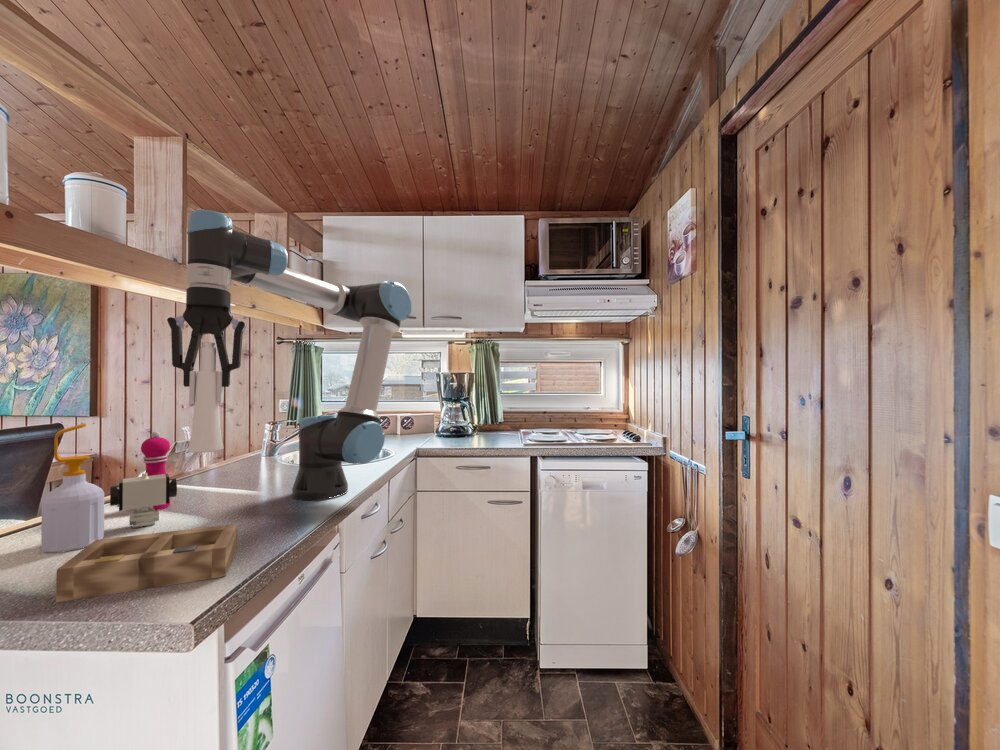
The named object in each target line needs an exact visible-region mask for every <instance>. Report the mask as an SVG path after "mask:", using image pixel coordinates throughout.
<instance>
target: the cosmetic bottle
mask: <svg viewBox="0 0 1000 750" xmlns="http://www.w3.org/2000/svg"><path fill="white" fill-rule="evenodd" d="M215 345H216V342H210V341H209V342H208V341H207V342H206V341H203V342H201V347H200V346H199V370H196V371H197V377H196V388H195V403H194V404H193V415H192V416H193V417H192V425H191V433H190V438H189V445H188V448H187V452H189V453H196V454H197V453H213V452H219V451H223V450H224V449H225V448H224V443H223V436H222V428H221V415H220V414H221V411H220V409H221V408H220V403H217V370H216V369H217V347H215Z"/></svg>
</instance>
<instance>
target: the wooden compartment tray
mask: <svg viewBox="0 0 1000 750" xmlns="http://www.w3.org/2000/svg"><path fill="white" fill-rule="evenodd" d="M238 536H239V534H238V523H233V524H232V523H231V524H222V525H215V526H205V527H197V528H188V529H180V530H171V531H163V532H153V533H152V532H151V533H147V534H146V533H145V534H136V535H135V534H134V535H128V536H119V537H109V538H103V539H99V540H95V541H94V542H92V543H91V544H90V545H88V546H87V547H85V548H82V549H81V550H80V551H79V552H78V553H76V554H75V555H74V556H72V557H71V558H70V559H69V560H67V561H66V562H65V563H63V564H62V565H61V566H59V567H58V568H56V572H55V573H56V574H55V575H56V587H55V590H56V593H55V594H56V595H55V598H56V599H55V601H56V603H61V602H68V601H74V600H82V599H87V598H95V597H100V596H106V595H114V594H120V593H127V592H134V591H140V590H146V589H153V588H159V587H164V586H166V587H167V586H172V585H177V584H184V583H185V584H186V583H191V582H196V581H197V582H198V581H203V580H204V581H205V580H211V579H210V578H212V579H217V578H216V577H218V578H223V577H222V576H224V577H226V575H227V574H228V572H227V571H229V569H230V567H229V566H231V565H230V564H232V563H233V561H234V558H233V557H235V556H236V553H237V551H238ZM236 550H237V551H236ZM226 573H227V574H226Z"/></svg>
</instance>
